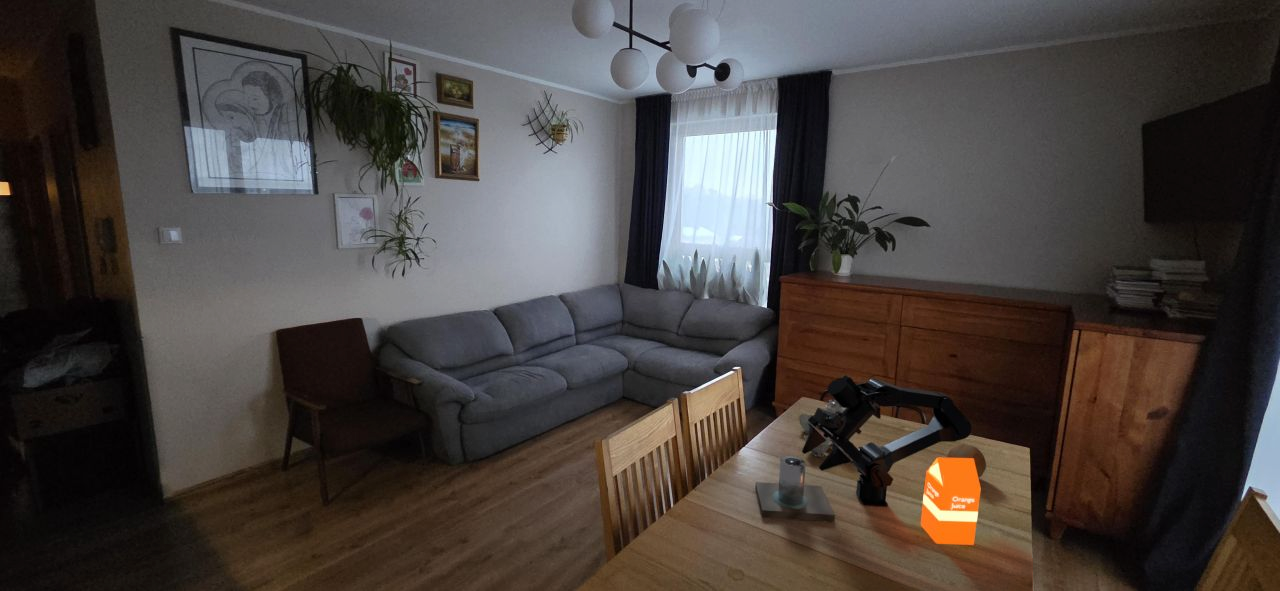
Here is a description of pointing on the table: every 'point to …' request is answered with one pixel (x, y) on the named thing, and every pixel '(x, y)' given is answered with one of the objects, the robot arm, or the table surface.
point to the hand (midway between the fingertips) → (811, 460)
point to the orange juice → (951, 501)
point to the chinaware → (828, 444)
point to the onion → (969, 456)
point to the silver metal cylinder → (791, 480)
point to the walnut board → (810, 509)
